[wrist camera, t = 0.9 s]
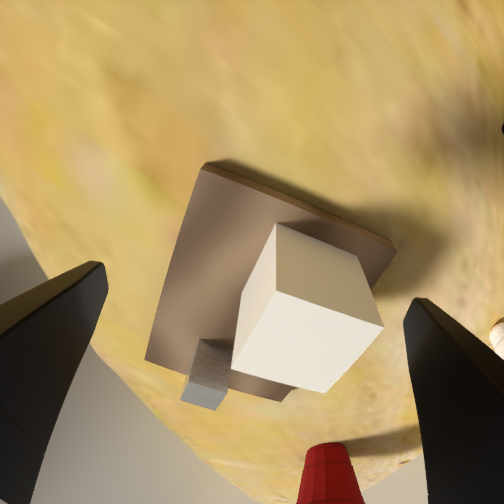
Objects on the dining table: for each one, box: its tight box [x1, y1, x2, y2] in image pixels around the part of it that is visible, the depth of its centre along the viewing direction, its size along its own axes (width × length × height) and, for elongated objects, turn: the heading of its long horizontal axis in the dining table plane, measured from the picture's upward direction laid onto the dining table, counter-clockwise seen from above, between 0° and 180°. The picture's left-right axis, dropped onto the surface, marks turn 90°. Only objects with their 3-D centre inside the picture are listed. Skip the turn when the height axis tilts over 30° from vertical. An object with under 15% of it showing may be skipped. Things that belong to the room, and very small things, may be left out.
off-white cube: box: [231, 223, 384, 393], centre depth 19 cm, size 6×6×7 cm
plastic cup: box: [296, 443, 365, 504], centre depth 33 cm, size 11×11×12 cm
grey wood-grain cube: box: [180, 339, 233, 411], centre depth 25 cm, size 3×3×4 cm
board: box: [144, 163, 397, 402], centre depth 25 cm, size 14×19×2 cm
